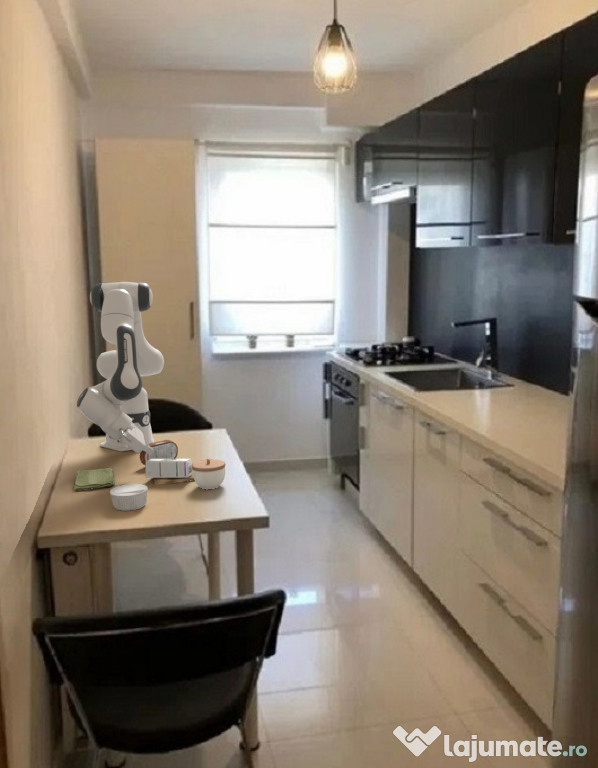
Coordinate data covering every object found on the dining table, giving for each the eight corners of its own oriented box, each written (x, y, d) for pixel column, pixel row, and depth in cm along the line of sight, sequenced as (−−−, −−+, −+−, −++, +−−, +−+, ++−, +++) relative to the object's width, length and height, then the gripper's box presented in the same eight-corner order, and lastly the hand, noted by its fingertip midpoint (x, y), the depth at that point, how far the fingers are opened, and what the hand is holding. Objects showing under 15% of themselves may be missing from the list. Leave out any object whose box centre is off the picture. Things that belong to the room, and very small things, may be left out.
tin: (175, 459, 266) (173, 437, 265) (180, 460, 264) (178, 438, 262) (140, 468, 256) (138, 445, 254) (144, 470, 254) (143, 446, 252)
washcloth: (73, 493, 231) (72, 484, 230) (75, 478, 248) (74, 469, 247) (115, 488, 234) (114, 479, 234) (114, 474, 251) (113, 465, 251)
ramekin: (125, 515, 208) (124, 497, 207) (103, 507, 215) (101, 490, 214) (156, 504, 216) (155, 487, 215) (134, 497, 223) (132, 481, 223)
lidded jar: (217, 493, 225) (215, 464, 223) (187, 490, 228) (185, 462, 227) (232, 483, 234) (230, 455, 233) (202, 480, 238) (201, 453, 237)
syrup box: (145, 478, 238) (188, 478, 236) (145, 460, 237) (187, 460, 236) (151, 475, 243) (192, 475, 242) (150, 457, 243) (192, 458, 241)
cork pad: (155, 484, 235) (154, 482, 235) (152, 473, 249) (152, 470, 249) (197, 480, 239) (197, 477, 239) (192, 469, 252) (192, 466, 252)
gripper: (127, 425, 227) (160, 452, 231) (125, 413, 246) (156, 438, 250) (113, 440, 226) (147, 467, 230) (113, 427, 246) (144, 451, 250)
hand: (152, 452), depth 241 cm, fingers closed
